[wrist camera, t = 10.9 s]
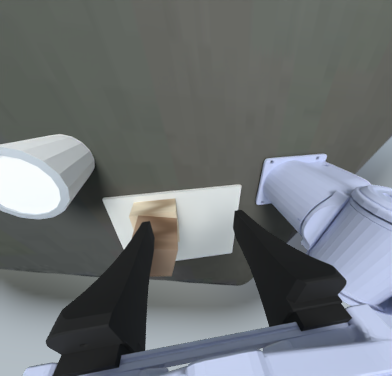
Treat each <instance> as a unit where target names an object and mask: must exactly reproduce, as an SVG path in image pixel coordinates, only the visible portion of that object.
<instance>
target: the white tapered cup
mask: <svg viewBox="0 0 392 376" xmlns="http://www.w3.org/2000/svg"><path fill="white" fill-rule="evenodd" d="M94 168H95V159H94V157H93V155H92V153H91V151H90V150H89V149H88V148H87V147H86V146H85V145H84V144H83V143H82V142H81V141H79V140H77V139H75V138H73V137H71V136H67V135H62V134H57V135H50V136H44V137H39V138H34V139H28V140H23V141H18V142H12V143H7V144H1V145H0V210H1V211H3V212H6V213H9V214H12V215H15V216H18V217H21V218H31V219H44V218H51V217H55V216H56V215H58V214H60V213H61V212H63V211H65V209H66V208H67V207H68V205H69V204H70V202H71V201H72V200H73V198H74V197H75V196H76V194H77V193H78V191H79V190H80V189H81V187H82V186H83V185H84V183H85V182H86V180H87V179H88V178H89V176H90V175H91V173H92V172H93V170H94Z"/></svg>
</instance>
